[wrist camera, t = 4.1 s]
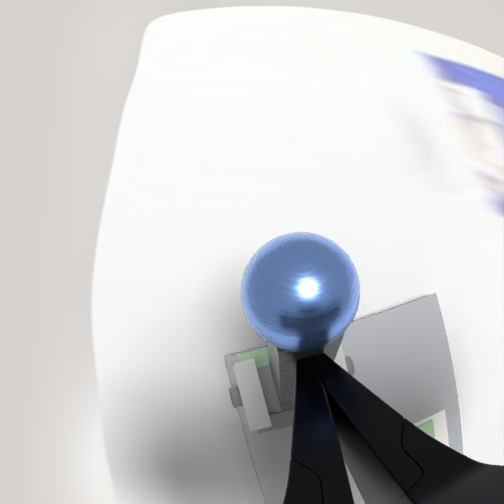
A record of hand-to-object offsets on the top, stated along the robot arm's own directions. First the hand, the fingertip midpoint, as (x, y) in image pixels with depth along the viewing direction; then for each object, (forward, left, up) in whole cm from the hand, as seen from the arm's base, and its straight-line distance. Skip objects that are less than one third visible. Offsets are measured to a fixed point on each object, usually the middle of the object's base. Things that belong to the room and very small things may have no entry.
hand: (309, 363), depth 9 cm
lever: (-2, 0, -6) cm, 6 cm away
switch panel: (-6, -3, -8) cm, 11 cm away
